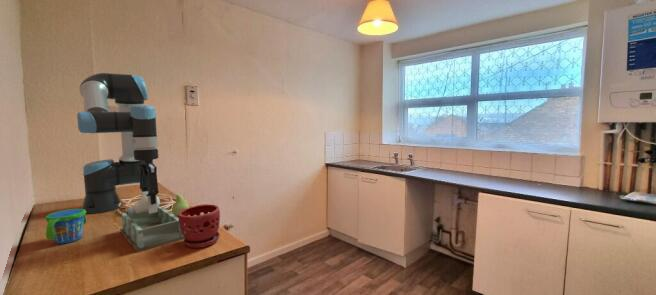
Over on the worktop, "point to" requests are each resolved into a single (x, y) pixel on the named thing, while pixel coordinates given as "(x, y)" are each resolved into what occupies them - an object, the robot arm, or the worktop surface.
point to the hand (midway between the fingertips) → (150, 210)
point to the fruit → (179, 204)
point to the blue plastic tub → (65, 225)
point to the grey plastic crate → (151, 229)
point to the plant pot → (200, 225)
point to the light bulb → (140, 206)
